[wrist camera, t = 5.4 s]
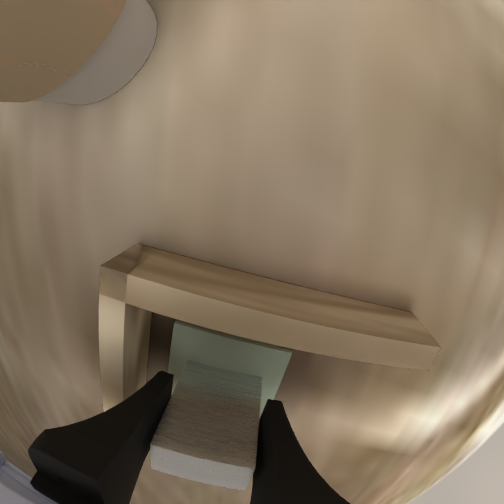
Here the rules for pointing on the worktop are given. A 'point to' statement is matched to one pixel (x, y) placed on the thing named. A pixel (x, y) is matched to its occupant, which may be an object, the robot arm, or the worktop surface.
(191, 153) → the worktop surface
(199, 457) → the block
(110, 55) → the coffee cup
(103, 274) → the wooden corner frame
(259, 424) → the robot arm
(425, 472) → the worktop surface
